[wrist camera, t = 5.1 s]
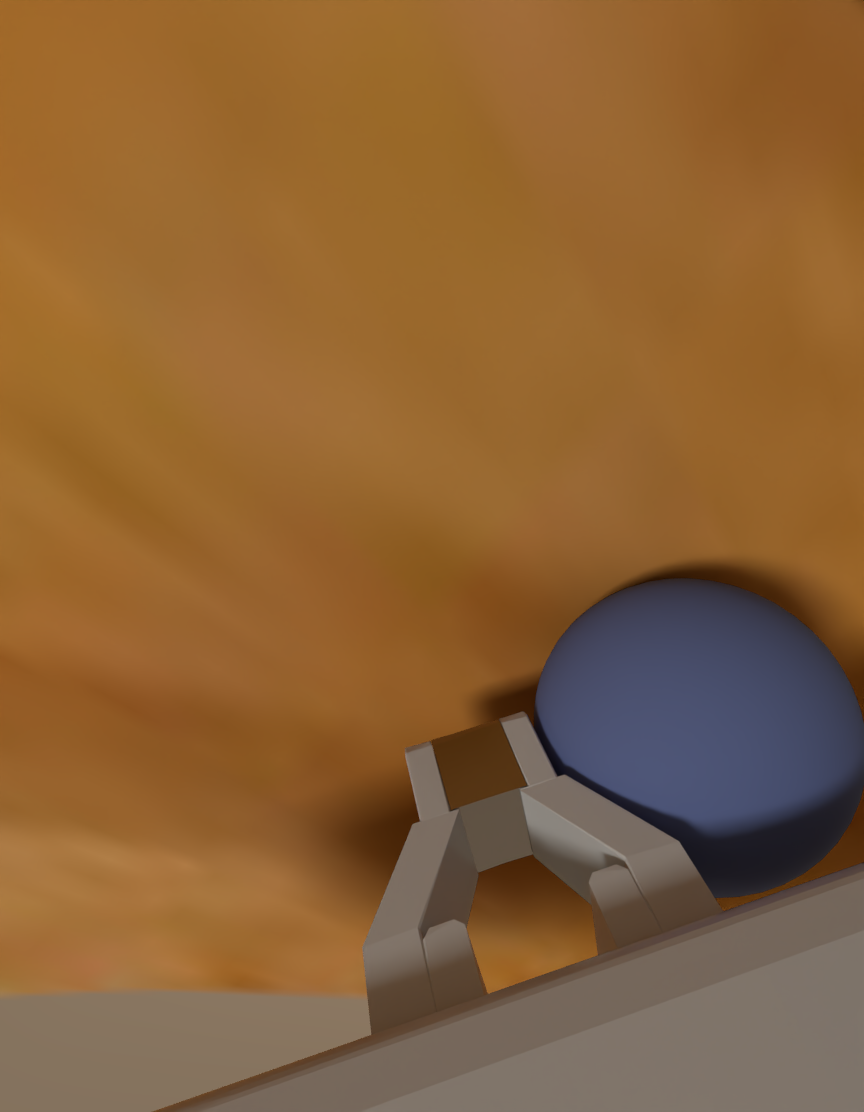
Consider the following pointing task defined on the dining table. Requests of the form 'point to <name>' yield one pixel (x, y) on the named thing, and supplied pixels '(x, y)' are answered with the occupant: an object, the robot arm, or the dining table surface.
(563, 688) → the ball
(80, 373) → the dining table surface
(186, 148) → the dining table surface
